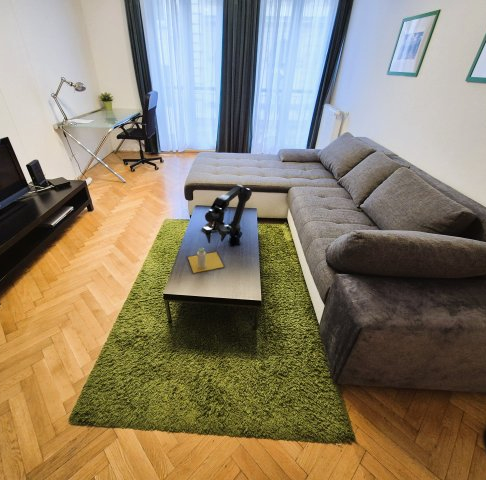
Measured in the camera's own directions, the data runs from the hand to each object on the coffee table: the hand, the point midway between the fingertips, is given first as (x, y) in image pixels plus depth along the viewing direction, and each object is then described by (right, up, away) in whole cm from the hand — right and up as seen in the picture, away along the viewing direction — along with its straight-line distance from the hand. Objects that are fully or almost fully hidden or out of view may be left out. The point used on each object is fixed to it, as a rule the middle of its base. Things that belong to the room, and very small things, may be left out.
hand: (215, 242), depth 163 cm
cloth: (-6, -12, +2) cm, 14 cm away
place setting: (0, +9, +35) cm, 36 cm away
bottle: (-8, -14, -2) cm, 17 cm away
